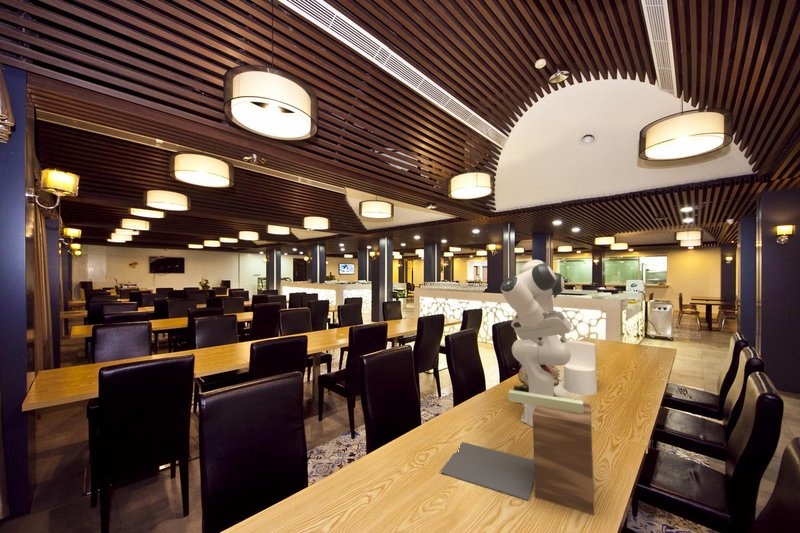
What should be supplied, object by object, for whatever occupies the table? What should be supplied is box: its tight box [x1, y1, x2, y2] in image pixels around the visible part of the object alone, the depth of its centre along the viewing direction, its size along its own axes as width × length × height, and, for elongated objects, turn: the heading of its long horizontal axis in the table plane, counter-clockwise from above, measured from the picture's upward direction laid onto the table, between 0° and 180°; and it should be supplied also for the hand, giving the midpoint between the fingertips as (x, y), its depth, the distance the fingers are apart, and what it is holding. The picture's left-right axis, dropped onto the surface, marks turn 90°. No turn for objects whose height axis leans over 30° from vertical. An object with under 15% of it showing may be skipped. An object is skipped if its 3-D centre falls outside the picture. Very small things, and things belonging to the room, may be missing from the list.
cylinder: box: [563, 340, 598, 396], centre depth 197 cm, size 17×17×28 cm
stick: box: [507, 389, 584, 414], centre depth 110 cm, size 3×23×3 cm, turn 60°
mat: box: [439, 441, 535, 502], centre depth 119 cm, size 24×30×1 cm
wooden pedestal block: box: [532, 402, 595, 516], centre depth 107 cm, size 18×16×26 cm
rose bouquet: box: [512, 363, 562, 392], centre depth 185 cm, size 26×29×30 cm
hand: (552, 343), depth 122 cm, fingers open, 8 cm apart
